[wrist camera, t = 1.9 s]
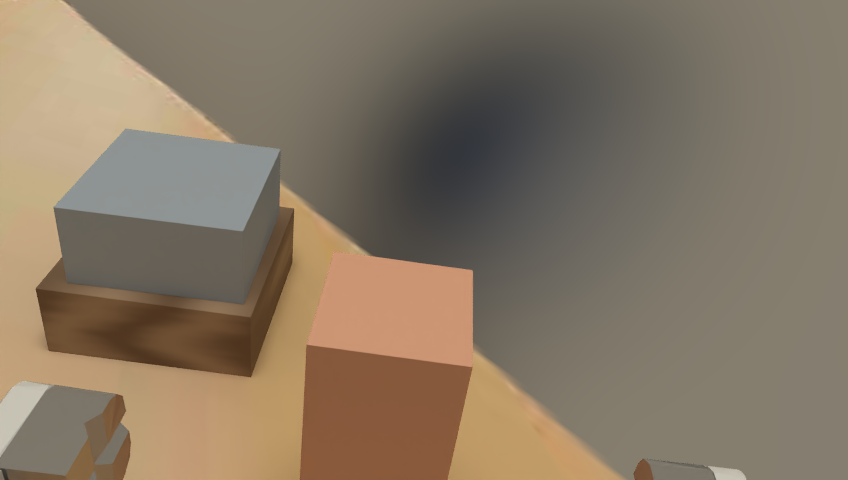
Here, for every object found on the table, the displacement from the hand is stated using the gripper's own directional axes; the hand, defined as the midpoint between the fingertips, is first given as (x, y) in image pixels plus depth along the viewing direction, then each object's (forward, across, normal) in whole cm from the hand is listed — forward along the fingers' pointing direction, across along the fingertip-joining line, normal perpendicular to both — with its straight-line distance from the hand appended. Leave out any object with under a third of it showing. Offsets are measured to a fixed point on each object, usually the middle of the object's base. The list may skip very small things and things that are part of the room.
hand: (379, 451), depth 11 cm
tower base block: (+29, +14, +23) cm, 40 cm away
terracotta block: (+13, 0, +22) cm, 26 cm away
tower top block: (+29, +14, +18) cm, 37 cm away
